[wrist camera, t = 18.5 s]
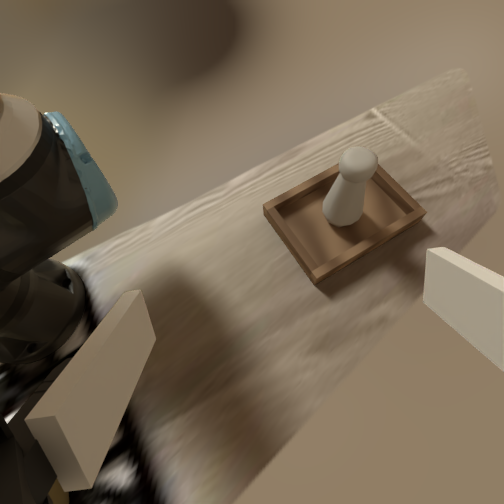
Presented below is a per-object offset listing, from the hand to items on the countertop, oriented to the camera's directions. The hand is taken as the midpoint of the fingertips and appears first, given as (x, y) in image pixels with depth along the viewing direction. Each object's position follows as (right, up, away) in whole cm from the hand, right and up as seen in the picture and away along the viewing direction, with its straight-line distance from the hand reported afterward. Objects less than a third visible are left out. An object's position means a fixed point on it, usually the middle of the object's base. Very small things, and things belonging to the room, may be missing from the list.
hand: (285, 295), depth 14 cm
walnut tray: (+12, +7, +32) cm, 35 cm away
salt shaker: (+12, +7, +32) cm, 34 cm away
